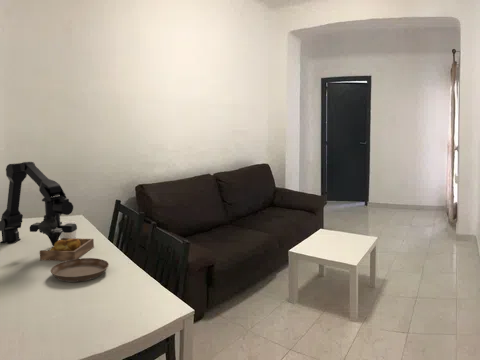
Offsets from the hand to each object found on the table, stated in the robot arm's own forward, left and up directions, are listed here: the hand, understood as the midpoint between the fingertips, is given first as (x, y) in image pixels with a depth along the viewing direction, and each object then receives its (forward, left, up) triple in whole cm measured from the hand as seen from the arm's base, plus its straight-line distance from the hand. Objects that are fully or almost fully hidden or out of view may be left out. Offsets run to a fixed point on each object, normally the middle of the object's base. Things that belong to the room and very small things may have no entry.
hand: (54, 246), depth 173 cm
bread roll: (+6, -2, -3) cm, 7 cm away
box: (+6, 0, -3) cm, 7 cm away
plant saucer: (+22, -23, -4) cm, 32 cm away
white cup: (-1, +15, -3) cm, 15 cm away
